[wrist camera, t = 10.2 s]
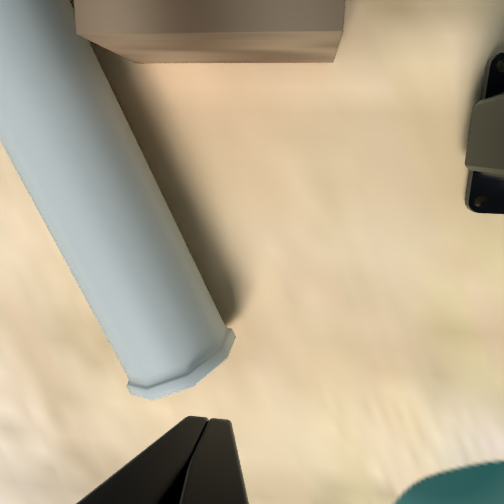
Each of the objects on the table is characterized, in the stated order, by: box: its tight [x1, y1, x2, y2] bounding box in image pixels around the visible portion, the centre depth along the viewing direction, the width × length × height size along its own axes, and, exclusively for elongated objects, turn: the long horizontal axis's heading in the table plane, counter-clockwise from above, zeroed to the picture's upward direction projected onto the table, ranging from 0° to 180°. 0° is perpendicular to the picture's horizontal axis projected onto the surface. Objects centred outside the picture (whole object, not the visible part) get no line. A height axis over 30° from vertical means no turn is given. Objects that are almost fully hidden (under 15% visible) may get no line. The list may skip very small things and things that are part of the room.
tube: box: [0, 0, 236, 400], centre depth 18 cm, size 5×5×25 cm
